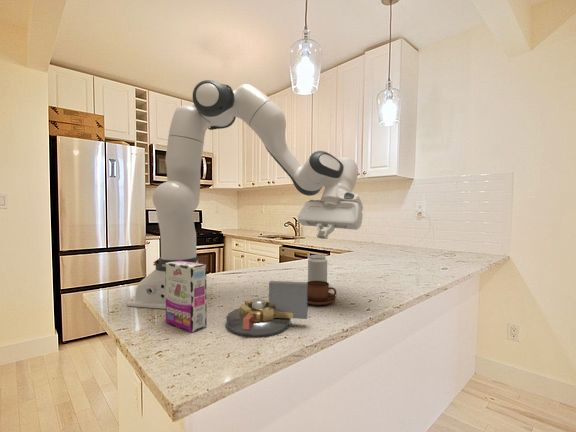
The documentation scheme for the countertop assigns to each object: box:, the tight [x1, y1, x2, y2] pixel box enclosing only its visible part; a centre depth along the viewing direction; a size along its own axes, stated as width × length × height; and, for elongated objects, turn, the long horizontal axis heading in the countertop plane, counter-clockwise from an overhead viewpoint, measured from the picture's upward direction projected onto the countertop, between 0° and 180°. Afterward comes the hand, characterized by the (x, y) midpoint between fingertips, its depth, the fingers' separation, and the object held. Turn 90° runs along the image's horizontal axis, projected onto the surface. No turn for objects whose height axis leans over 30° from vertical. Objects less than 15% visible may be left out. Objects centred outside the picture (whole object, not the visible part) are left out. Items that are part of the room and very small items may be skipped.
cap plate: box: [225, 298, 291, 338], centre depth 79 cm, size 17×17×6 cm
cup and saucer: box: [306, 281, 337, 306], centre depth 97 cm, size 12×12×6 cm
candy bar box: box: [165, 261, 208, 333], centre depth 78 cm, size 11×5×16 cm, turn 56°
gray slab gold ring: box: [238, 280, 309, 322], centre depth 78 cm, size 18×10×9 cm, turn 81°
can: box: [307, 254, 328, 283], centre depth 115 cm, size 8×8×12 cm
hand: (321, 237), depth 88 cm, fingers closed
